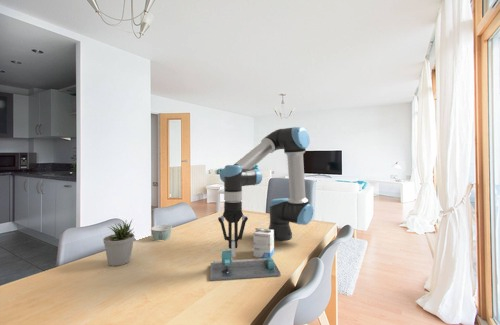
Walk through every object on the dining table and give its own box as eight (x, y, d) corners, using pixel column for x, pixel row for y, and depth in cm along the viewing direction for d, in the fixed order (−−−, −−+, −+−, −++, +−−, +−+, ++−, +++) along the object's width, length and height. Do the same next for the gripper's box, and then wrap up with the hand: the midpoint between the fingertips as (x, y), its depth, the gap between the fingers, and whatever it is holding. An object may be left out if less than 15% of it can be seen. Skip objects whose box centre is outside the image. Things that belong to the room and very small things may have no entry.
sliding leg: (230, 263, 109) (230, 249, 109) (232, 270, 101) (232, 256, 101) (221, 263, 108) (221, 250, 108) (222, 271, 101) (222, 257, 101)
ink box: (274, 252, 125) (274, 226, 125) (270, 258, 118) (270, 230, 117) (258, 250, 128) (258, 224, 128) (253, 256, 120) (253, 229, 120)
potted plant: (102, 271, 104) (101, 224, 104) (104, 259, 116) (103, 217, 116) (135, 265, 110) (135, 220, 109) (133, 255, 122) (133, 214, 122)
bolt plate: (272, 261, 114) (272, 252, 114) (280, 275, 100) (280, 265, 100) (210, 265, 110) (210, 256, 110) (210, 280, 96) (210, 270, 96)
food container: (155, 243, 139) (155, 231, 139) (147, 238, 148) (147, 227, 148) (175, 238, 147) (175, 227, 147) (167, 234, 156) (167, 223, 156)
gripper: (246, 199, 111) (246, 251, 112) (217, 199, 109) (217, 253, 110) (249, 202, 104) (249, 258, 104) (217, 202, 102) (217, 260, 102)
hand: (233, 255), depth 107 cm, fingers closed
